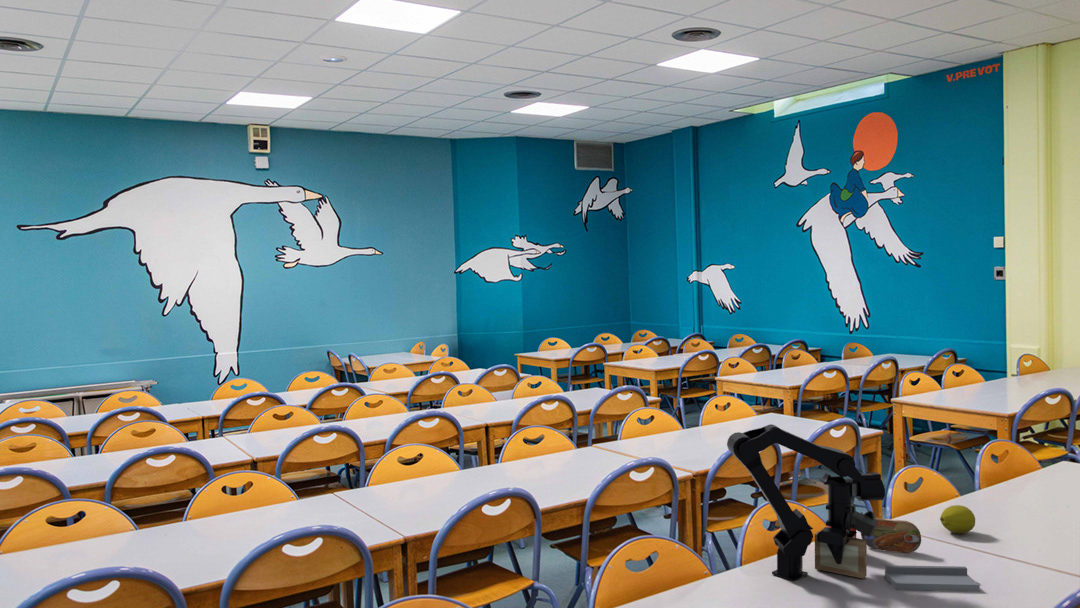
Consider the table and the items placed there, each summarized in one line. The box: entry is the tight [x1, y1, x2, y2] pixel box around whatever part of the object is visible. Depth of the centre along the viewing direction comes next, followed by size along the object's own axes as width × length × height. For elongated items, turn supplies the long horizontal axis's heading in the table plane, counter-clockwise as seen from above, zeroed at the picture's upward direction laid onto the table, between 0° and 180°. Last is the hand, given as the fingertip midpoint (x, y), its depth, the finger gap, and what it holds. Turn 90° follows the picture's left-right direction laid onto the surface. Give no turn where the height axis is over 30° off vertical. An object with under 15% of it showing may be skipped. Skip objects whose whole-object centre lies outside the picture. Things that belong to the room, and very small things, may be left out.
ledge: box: [884, 564, 980, 592], centre depth 193 cm, size 8×19×3 cm, turn 85°
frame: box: [814, 531, 868, 579], centre depth 201 cm, size 2×12×9 cm, turn 55°
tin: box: [860, 517, 922, 554], centre depth 217 cm, size 15×3×8 cm, turn 62°
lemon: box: [939, 504, 976, 535], centre depth 230 cm, size 11×8×8 cm
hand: (840, 562), depth 201 cm, fingers closed on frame, 2 cm apart
